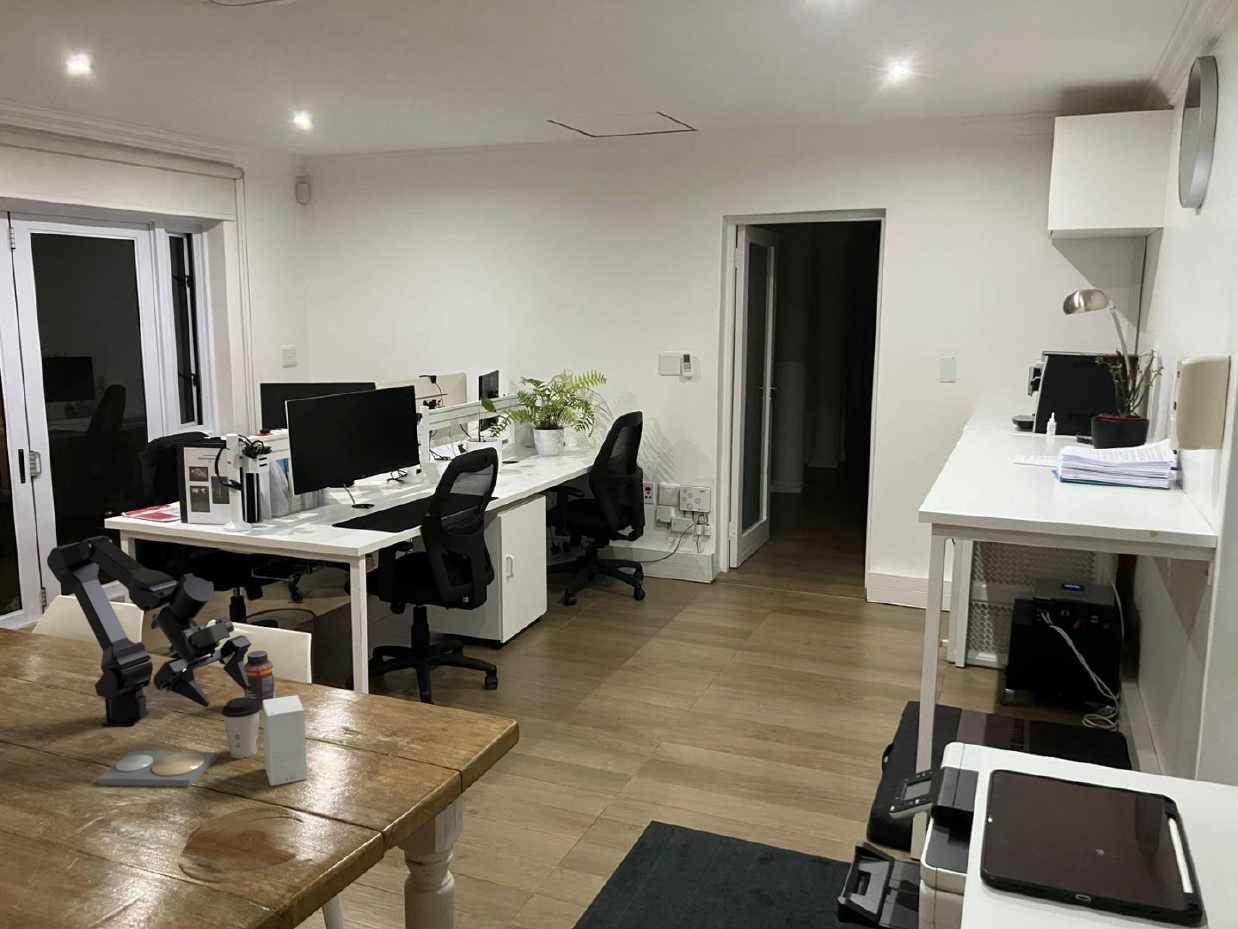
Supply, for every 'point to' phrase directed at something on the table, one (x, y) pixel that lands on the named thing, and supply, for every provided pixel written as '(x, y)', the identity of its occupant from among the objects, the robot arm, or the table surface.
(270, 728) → the small box
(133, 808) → the table surface
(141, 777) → the slate board
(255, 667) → the supplement bottle
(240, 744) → the coffee cup
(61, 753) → the table surface
